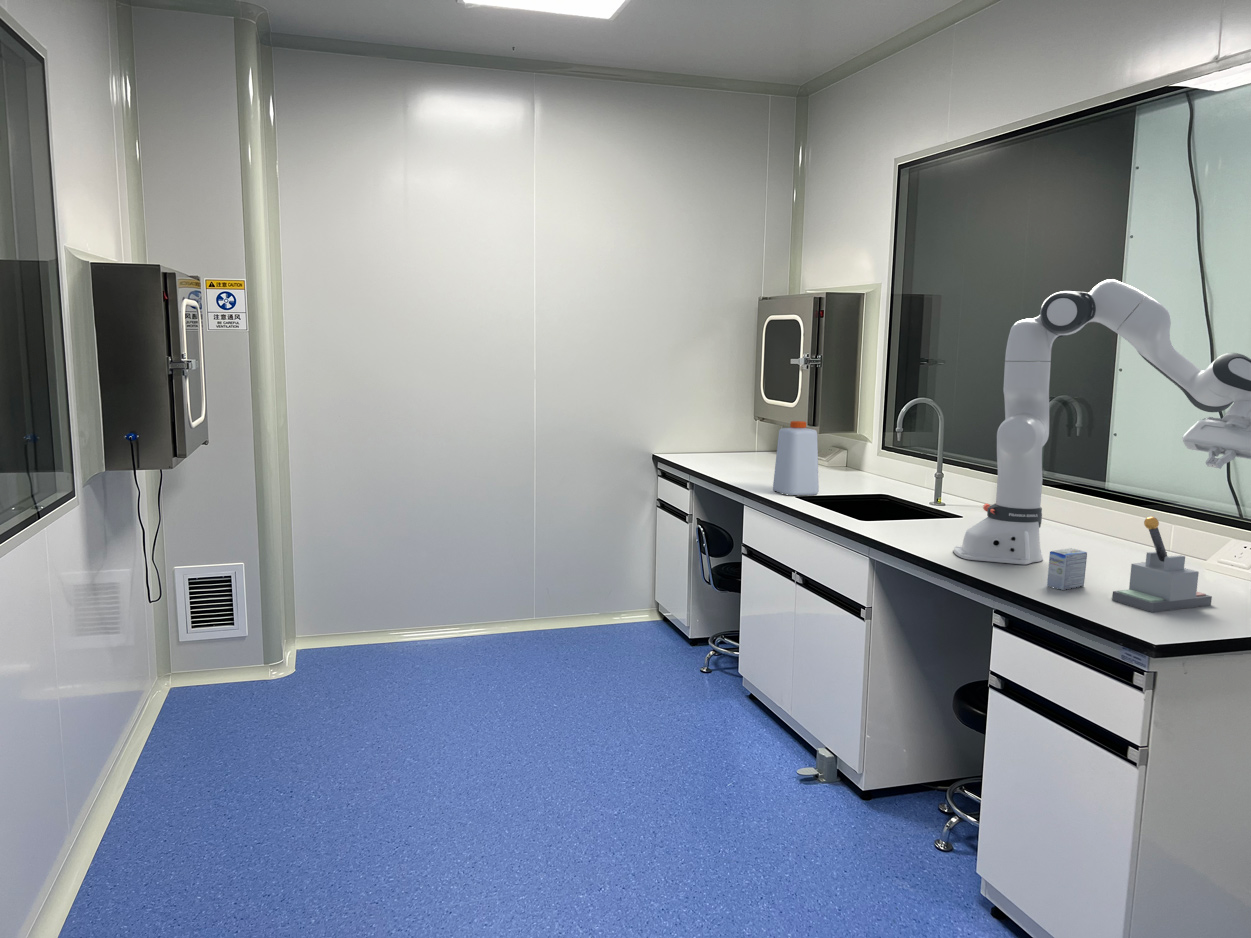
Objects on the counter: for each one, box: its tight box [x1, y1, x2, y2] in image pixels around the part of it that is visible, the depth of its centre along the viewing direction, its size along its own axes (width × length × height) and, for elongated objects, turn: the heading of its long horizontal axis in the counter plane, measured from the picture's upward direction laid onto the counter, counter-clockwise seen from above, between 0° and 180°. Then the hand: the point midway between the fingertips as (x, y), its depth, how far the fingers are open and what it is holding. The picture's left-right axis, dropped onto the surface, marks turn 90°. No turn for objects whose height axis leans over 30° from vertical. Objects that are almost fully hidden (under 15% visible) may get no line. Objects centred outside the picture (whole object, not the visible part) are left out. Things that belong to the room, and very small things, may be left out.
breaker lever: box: [1143, 516, 1169, 562], centre depth 194 cm, size 3×3×12 cm
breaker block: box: [1111, 551, 1213, 613], centre depth 196 cm, size 18×10×11 cm, turn 111°
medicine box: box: [1046, 547, 1088, 591], centre depth 209 cm, size 8×4×9 cm, turn 118°
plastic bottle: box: [772, 420, 820, 496], centre depth 341 cm, size 15×15×28 cm
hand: (1212, 465), depth 204 cm, fingers closed
